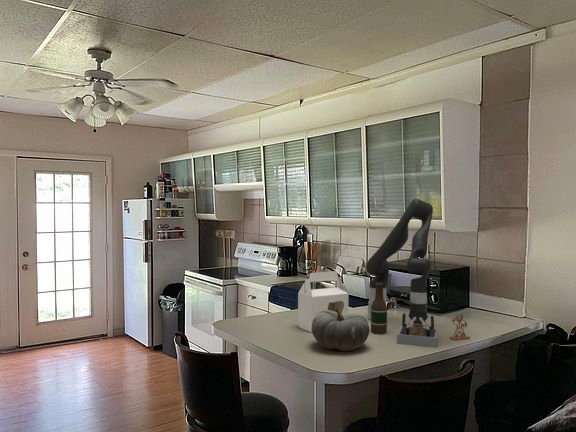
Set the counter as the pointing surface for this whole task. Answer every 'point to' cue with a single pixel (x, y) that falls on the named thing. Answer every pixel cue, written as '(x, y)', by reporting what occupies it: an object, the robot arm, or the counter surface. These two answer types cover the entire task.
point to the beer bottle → (379, 312)
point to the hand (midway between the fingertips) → (417, 336)
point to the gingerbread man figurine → (460, 337)
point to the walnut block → (417, 330)
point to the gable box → (320, 298)
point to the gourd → (340, 330)
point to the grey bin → (417, 337)
